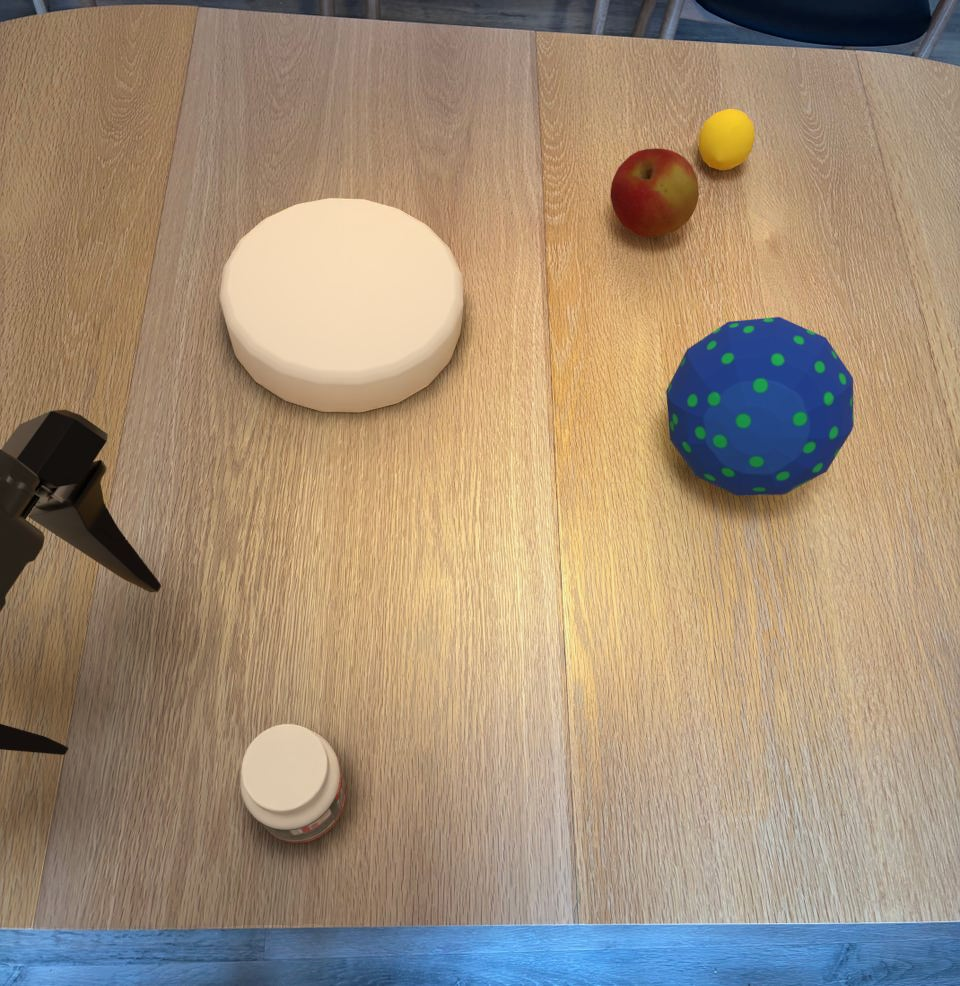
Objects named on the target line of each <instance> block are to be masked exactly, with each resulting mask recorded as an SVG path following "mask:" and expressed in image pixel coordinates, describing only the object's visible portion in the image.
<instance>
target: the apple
mask: <svg viewBox="0 0 960 986" xmlns="http://www.w3.org/2000/svg"><path fill="white" fill-rule="evenodd" d="M699 193H700V191H699V182H698V177H697V174H696V172H695V169H694V168H693V166H692V164H691V163H690V162H689V161H688V159H686V158H685V157H684V156H683V155H681V154H680V153H678V152H676V151H673V150H670V149H667V148H655V147H654V148H645V149H641V150H638V151H636V152H634V153H631V154H630V155H629V156H628V157H627V158H626V159H625V160H624V161H623V162H621V164H620V165H619V167H618V168H617V170H616V171H615V174H614V175H613V177H612V181H611V185H610V193H609V194H610V200H611V205H612V208H613V211H614V213H615V216H616V218H617V219H618V220H619V222H620V224H621V225H622V226H624V228H625V229H627V231H628V230H629V232H631V233H632V234H635V235H637V236H640V237H643V238H656V237H660V236H661V237H662V236H664V235H668V234H672V233H674V232H676V231H678V230H679V229H681V228H682V227H684V226H685V224H687V222H689V220H690V219H691V217H692V216H693V214H694V213H695V210H696V208H697V206H698V203H699V195H700V194H699Z"/></svg>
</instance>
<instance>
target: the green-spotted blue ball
mask: <svg viewBox="0 0 960 986" xmlns="http://www.w3.org/2000/svg"><path fill="white" fill-rule="evenodd" d="M665 392H666V407H667V419H668V421H667V422H668V432H669V433H668V434H669V440H670V443H671V444H672V445H673V446H674V448H675V449H676V451H677V452H678V454H679V455H680V456H681V458H682V459H683V461H684V462H685V463H686V465H687V466H688V467H689V469H690V470H691V472H692V473H693V475H694V476H695V477H696V478H699V479H701V480H703V481H705V482H707V483H709V484H711V485H713V486H715V487H718V488H720V489H722V490H724V491H725V492H728V493H730V494H731V495H734V496H737V497H741V496H742V497H743V496H746V497H747V496H780V495H781V496H782V495H787V494H788V493H790V492H792V491H794V490H795V489H797V488H799V487H801V486H803V485H804V484H806V483H808V482H810V481H812V480H814V479H815V478H817V477H819V476H821V475H822V474H825V473H827V472H828V470H829V469H830V467H831V466H832V464H833V462H834V461H835V458H836V457H837V455H838V454H839V452H840V450H841V449H842V448H843V446H844V444H845V443H846V441H847V440H848V438H849V437H850V435H851V433H852V431H853V429H854V425H855V423H854V419H855V417H854V416H855V415H854V414H855V413H854V377H853V376H852V374H851V373H850V371H849V369H848V367H847V366H846V365H845V364H844V362H843V361H842V360H841V358H840V356H839V355H838V353H837V352H836V351H835V348H834V347H833V346H832V344H831V343H830V342H829V340H828V338H827V337H825V336H824V335H821V334H819V333H817V332H814V331H812V330H811V329H808V328H805V327H803V326H801V325H799V324H796V323H794V322H792V321H789V320H787V319H785V318H784V317H781V316H773V317H764V318H762V317H761V318H753V319H744V320H743V319H742V320H741V319H740V320H731V321H727V322H725V323H723V325H721V326H720V327H718V328H716V329H715V330H713V331H712V332H710V333H709V334H708V335H706V336H704V337H703V338H702V339H700V340H699V341H697V342H695V343H694V344H693V345H691V346H690V347H688V348H687V349H686V351H685V352H684V354H683V356H682V359H681V360H680V362H679V364H678V366H677V368H676V371H675V372H674V374H673V377H672V378H671V381H670V382H669V385H668V386H667V388H666V391H665Z"/></svg>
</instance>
